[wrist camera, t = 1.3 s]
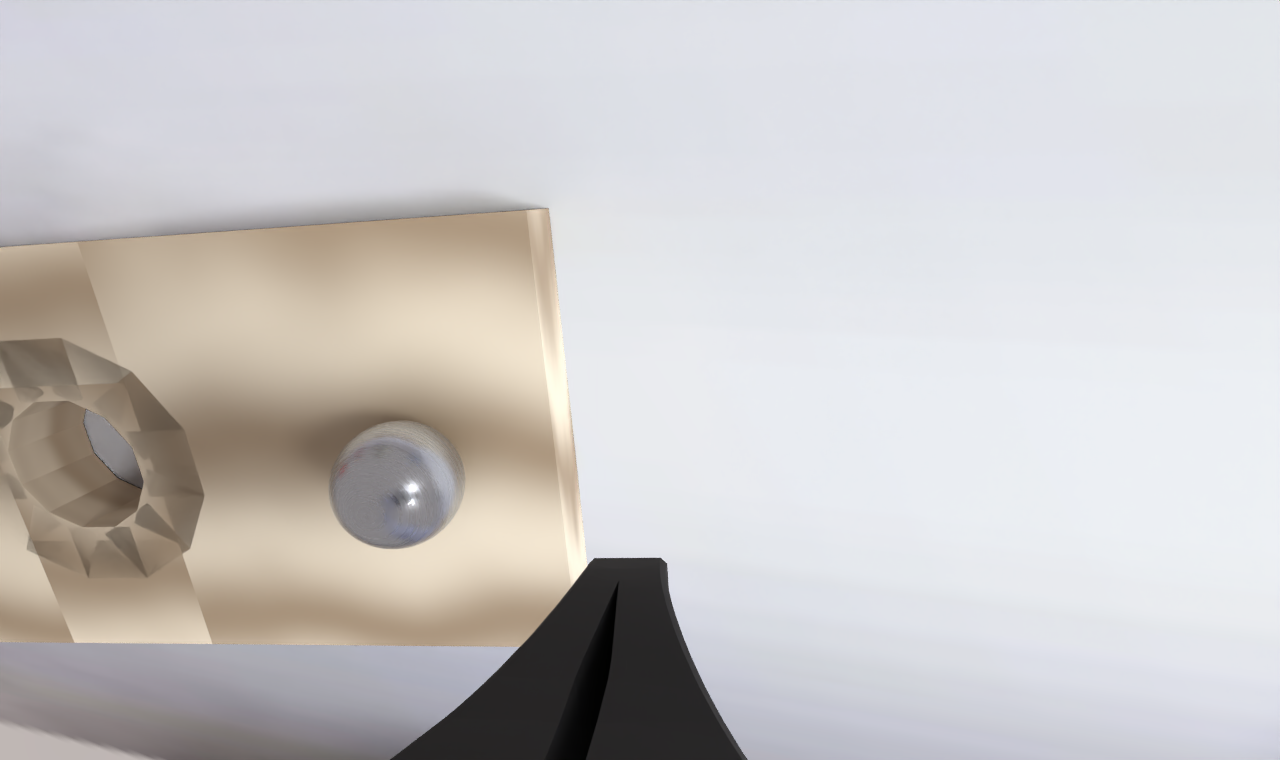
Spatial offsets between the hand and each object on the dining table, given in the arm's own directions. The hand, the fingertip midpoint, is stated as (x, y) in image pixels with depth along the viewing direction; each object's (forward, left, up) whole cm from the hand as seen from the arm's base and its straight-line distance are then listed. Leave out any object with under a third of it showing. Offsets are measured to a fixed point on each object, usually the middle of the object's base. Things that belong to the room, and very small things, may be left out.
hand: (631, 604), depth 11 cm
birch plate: (0, +14, -9) cm, 17 cm away
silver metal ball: (0, +7, -5) cm, 9 cm away
